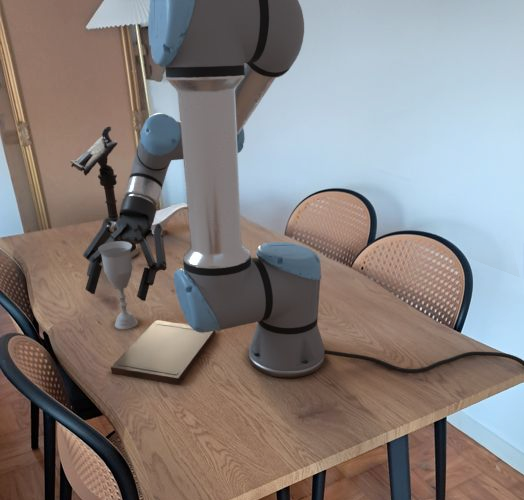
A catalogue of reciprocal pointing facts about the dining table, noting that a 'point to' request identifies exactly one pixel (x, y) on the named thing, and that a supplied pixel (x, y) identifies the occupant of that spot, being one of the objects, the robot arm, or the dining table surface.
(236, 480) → the dining table surface
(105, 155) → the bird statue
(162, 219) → the spoon rest
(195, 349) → the serving board
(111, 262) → the chalice
